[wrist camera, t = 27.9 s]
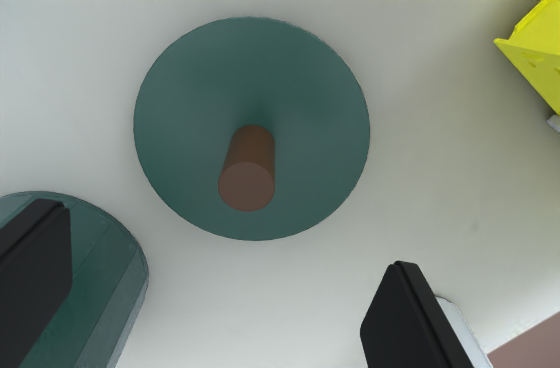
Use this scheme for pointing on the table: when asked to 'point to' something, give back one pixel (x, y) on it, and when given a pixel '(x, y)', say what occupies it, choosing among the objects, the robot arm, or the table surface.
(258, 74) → the tin lid
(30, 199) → the tin
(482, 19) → the table surface
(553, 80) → the yellow toy chassis
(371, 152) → the table surface
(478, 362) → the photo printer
